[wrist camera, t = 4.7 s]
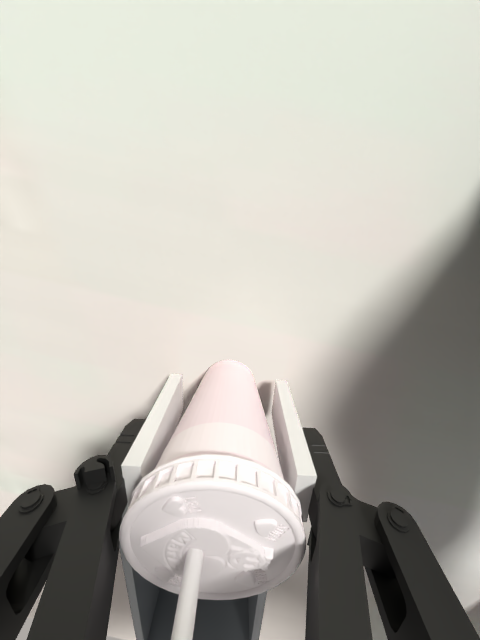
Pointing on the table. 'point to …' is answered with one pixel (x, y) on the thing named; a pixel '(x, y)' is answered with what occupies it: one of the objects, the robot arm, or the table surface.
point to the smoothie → (215, 503)
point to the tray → (211, 615)
